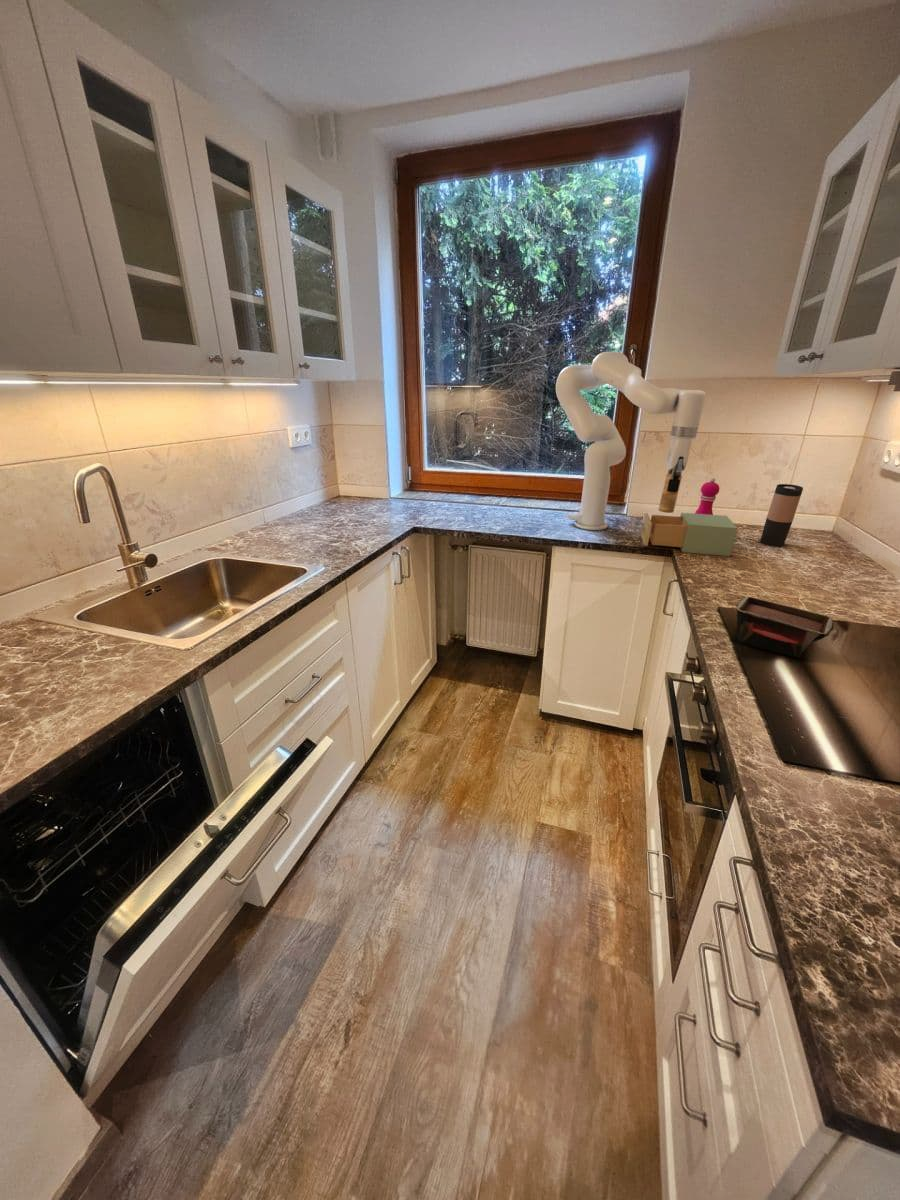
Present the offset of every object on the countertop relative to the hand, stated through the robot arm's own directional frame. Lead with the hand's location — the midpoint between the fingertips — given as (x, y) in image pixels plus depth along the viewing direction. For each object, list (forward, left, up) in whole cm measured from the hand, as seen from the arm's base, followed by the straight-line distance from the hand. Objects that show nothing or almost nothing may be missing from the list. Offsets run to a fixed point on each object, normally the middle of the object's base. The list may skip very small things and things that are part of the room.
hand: (670, 489), depth 157 cm
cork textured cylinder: (0, 0, -7) cm, 7 cm away
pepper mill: (+17, +19, -19) cm, 32 cm away
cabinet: (+14, 0, -19) cm, 23 cm away
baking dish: (+17, -64, -19) cm, 69 cm away
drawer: (-1, 0, -18) cm, 18 cm away
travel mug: (+39, +11, -19) cm, 44 cm away
